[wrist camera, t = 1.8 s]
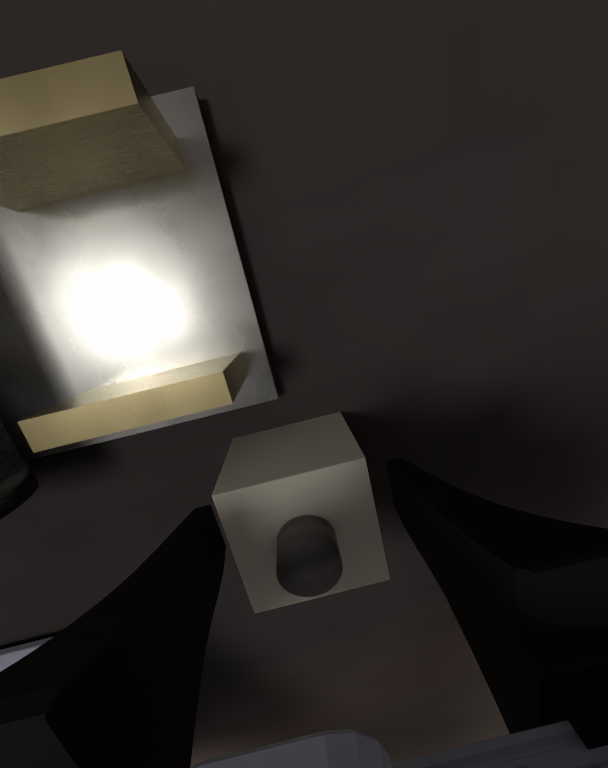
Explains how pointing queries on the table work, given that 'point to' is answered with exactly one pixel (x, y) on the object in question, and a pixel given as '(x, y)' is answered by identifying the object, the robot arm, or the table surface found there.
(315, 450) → the light grey block
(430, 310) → the table surface
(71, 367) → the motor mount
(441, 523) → the robot arm
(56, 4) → the table surface
